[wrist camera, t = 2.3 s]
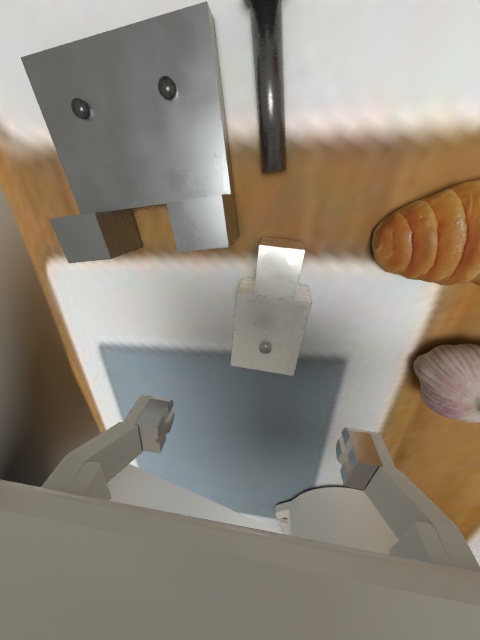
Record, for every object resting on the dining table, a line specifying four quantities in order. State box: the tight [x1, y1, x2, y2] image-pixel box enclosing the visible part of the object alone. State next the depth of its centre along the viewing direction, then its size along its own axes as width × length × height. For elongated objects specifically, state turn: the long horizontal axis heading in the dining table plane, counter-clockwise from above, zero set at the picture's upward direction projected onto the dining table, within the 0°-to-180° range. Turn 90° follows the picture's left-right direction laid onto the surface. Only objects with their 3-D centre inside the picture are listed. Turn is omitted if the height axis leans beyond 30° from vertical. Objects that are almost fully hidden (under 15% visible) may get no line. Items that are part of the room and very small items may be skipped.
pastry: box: [372, 179, 480, 285], centre depth 16 cm, size 9×7×4 cm
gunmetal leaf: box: [21, 2, 239, 263], centre depth 16 cm, size 12×12×4 cm
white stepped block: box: [231, 236, 312, 376], centre depth 20 cm, size 10×6×4 cm, turn 175°
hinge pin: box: [244, 0, 286, 173], centre depth 14 cm, size 9×2×2 cm, turn 7°
